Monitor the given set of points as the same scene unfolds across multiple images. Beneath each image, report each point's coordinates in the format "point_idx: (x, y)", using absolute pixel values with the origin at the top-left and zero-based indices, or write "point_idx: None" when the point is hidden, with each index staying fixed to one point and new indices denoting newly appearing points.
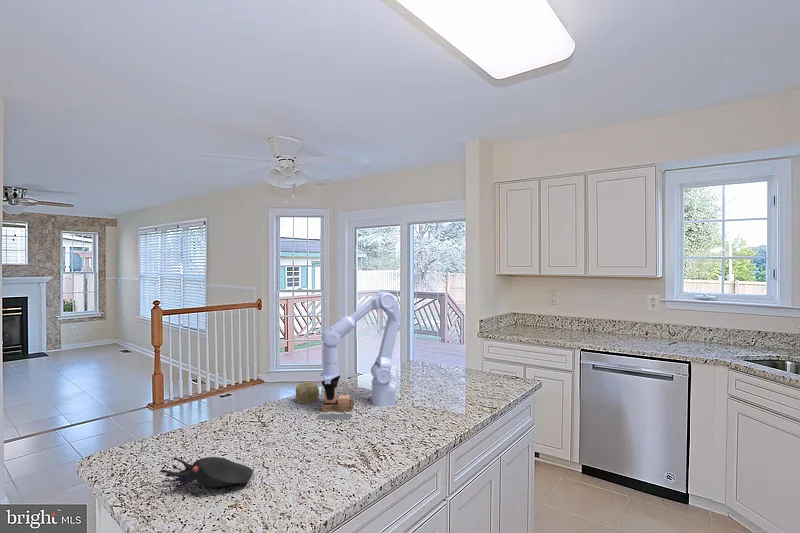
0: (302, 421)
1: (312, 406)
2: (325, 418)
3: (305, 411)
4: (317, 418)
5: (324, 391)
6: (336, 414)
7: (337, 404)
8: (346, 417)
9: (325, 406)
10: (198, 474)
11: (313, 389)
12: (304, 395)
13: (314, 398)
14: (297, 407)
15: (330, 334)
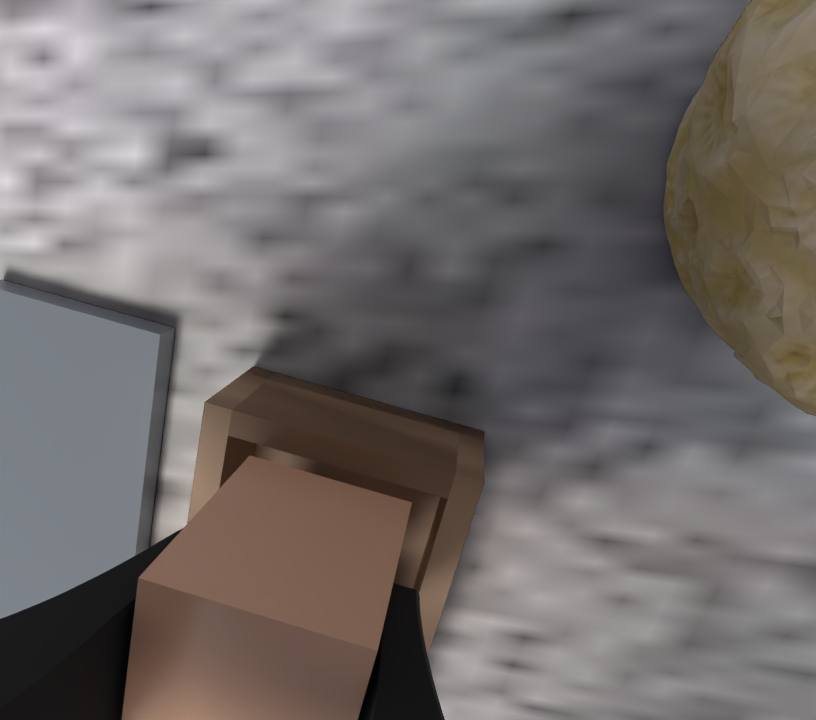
0: (31, 113)
1: (572, 259)
2: (12, 396)
3: (386, 151)
4: (16, 306)
5: (147, 572)
6: (123, 522)
7: (414, 585)
8: (29, 597)
9: (205, 446)
10: None
11: (801, 335)
12: (712, 111)
13: (703, 311)
14: (609, 10)
15: None
